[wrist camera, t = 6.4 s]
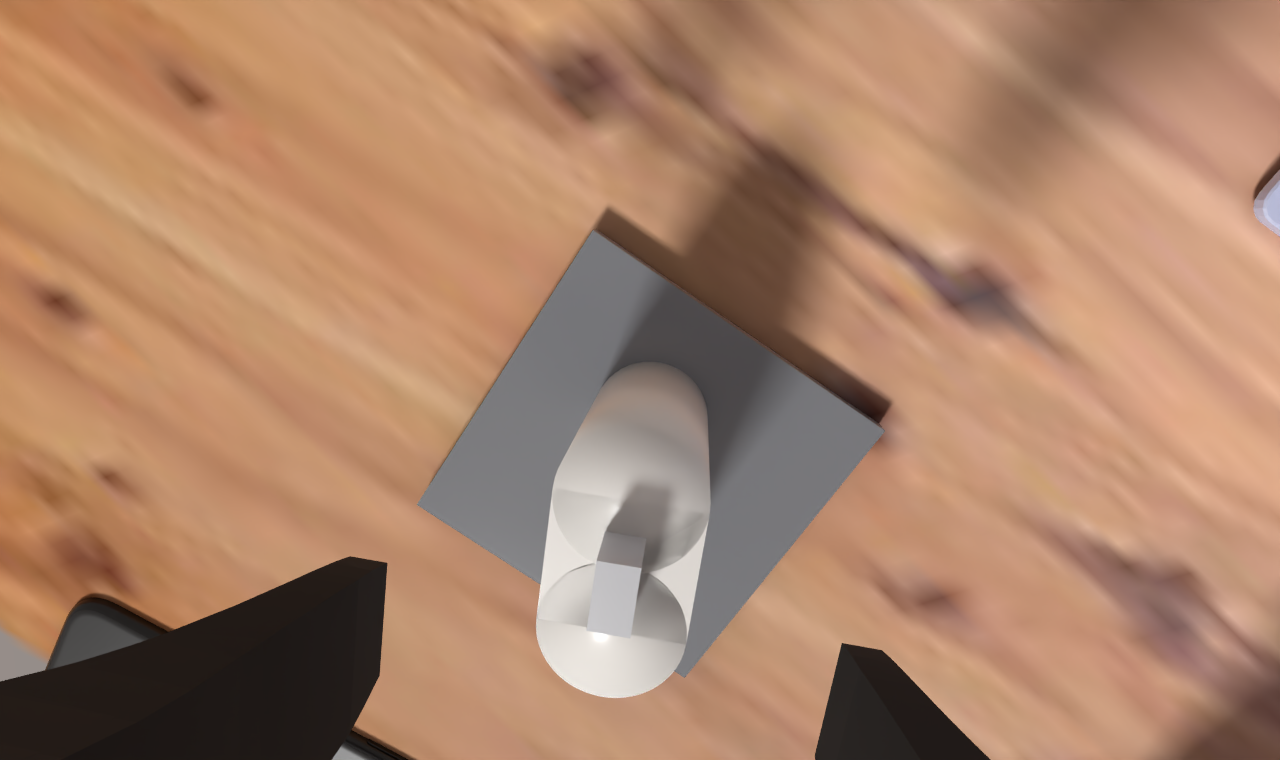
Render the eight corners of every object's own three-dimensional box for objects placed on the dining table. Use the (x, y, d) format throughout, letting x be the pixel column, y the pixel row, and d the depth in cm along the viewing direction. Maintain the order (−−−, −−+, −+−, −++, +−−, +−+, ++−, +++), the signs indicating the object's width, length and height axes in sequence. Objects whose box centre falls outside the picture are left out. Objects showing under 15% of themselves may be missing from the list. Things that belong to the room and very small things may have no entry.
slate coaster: (879, 423, 20) (885, 431, 19) (685, 664, 22) (684, 677, 21) (596, 229, 19) (592, 230, 18) (424, 496, 21) (416, 504, 21)
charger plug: (716, 371, 19) (725, 460, 12) (681, 574, 20) (672, 752, 14) (601, 353, 19) (549, 432, 13) (573, 556, 20) (514, 723, 14)
